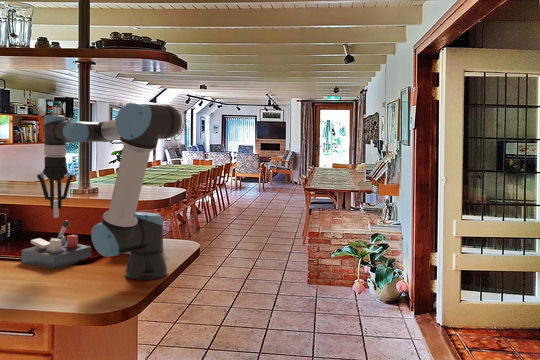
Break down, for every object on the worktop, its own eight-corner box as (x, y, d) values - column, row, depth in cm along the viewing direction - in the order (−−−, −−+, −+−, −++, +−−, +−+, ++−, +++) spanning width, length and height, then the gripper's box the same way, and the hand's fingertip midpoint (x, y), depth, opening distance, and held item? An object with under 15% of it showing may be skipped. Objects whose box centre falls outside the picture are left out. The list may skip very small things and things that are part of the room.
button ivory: (63, 252, 183) (63, 239, 182) (55, 254, 179) (54, 241, 178) (56, 250, 184) (56, 238, 184) (47, 253, 181) (47, 240, 180)
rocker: (51, 246, 185) (51, 243, 185) (42, 248, 182) (43, 245, 181) (39, 240, 188) (39, 238, 188) (30, 243, 184) (30, 240, 184)
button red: (79, 247, 190) (79, 235, 189) (71, 249, 186) (71, 237, 186) (72, 246, 191) (72, 234, 191) (64, 248, 188) (64, 236, 187)
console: (91, 258, 192) (91, 239, 191) (54, 269, 176) (53, 249, 175) (59, 251, 199) (59, 233, 198) (21, 262, 183) (21, 242, 182)
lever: (63, 240, 192) (72, 222, 190) (58, 242, 190) (66, 223, 187) (59, 236, 193) (67, 218, 190) (53, 238, 191) (61, 219, 188)
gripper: (74, 155, 183) (75, 214, 186) (37, 155, 179) (38, 215, 182) (73, 157, 176) (73, 218, 179) (34, 156, 172) (36, 219, 175)
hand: (56, 217), depth 180 cm, fingers closed
